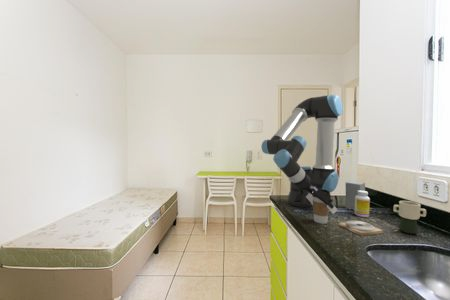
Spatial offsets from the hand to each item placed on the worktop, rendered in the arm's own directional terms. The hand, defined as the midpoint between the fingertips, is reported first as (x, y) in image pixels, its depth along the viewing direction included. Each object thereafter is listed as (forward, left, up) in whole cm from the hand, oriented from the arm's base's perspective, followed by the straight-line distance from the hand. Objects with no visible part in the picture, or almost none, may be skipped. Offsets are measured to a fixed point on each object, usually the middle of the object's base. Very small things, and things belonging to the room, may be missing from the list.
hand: (324, 207), depth 106 cm
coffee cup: (0, -2, -7) cm, 7 cm away
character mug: (+20, +27, -7) cm, 34 cm away
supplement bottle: (-2, +26, -7) cm, 27 cm away
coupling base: (+12, +9, -7) cm, 16 cm away
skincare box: (-11, +31, -7) cm, 34 cm away
